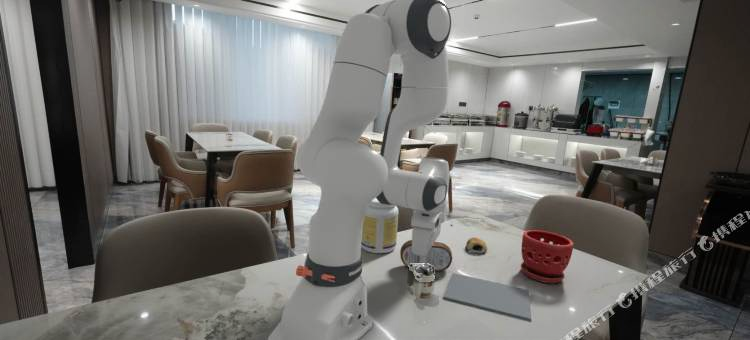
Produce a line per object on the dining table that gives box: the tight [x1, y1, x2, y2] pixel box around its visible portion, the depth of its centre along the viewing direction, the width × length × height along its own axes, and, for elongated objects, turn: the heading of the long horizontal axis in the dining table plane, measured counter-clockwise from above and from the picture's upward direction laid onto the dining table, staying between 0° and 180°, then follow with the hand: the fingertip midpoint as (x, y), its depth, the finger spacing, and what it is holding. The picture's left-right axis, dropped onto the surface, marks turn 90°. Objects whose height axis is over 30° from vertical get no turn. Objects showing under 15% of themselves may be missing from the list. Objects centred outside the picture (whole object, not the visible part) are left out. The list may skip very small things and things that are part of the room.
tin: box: [399, 239, 453, 273], centre depth 100 cm, size 15×3×8 cm, turn 84°
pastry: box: [466, 237, 488, 254], centre depth 118 cm, size 9×7×4 cm
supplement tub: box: [361, 198, 400, 254], centre depth 113 cm, size 12×12×17 cm
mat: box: [443, 272, 532, 322], centre depth 88 cm, size 14×20×1 cm
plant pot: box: [520, 229, 575, 284], centre depth 100 cm, size 13×13×12 cm
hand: (425, 258), depth 100 cm, fingers open, 4 cm apart
